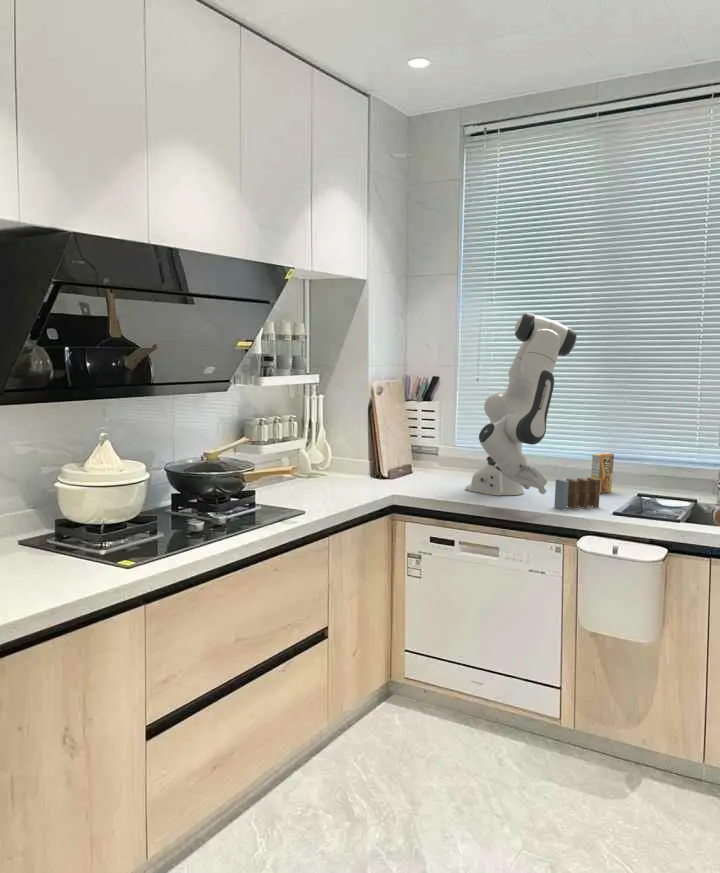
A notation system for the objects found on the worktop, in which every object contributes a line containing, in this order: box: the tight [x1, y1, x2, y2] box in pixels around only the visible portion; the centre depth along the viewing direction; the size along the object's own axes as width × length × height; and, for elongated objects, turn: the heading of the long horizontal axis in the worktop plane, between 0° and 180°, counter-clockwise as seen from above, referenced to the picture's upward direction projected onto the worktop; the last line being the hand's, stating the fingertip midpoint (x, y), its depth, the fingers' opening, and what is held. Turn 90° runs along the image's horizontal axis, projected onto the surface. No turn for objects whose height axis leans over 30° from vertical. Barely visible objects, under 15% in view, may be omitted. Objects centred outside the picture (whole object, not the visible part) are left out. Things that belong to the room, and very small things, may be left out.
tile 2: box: [565, 478, 579, 509], centre depth 279 cm, size 2×5×10 cm, turn 22°
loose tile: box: [554, 478, 569, 510], centre depth 277 cm, size 2×5×10 cm, turn 22°
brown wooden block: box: [586, 476, 601, 508], centre depth 282 cm, size 2×5×10 cm, turn 22°
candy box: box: [590, 452, 615, 494], centre depth 309 cm, size 9×4×15 cm, turn 129°
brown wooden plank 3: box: [576, 477, 590, 509], centre depth 281 cm, size 2×5×10 cm, turn 22°
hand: (535, 490), depth 273 cm, fingers open, 8 cm apart
